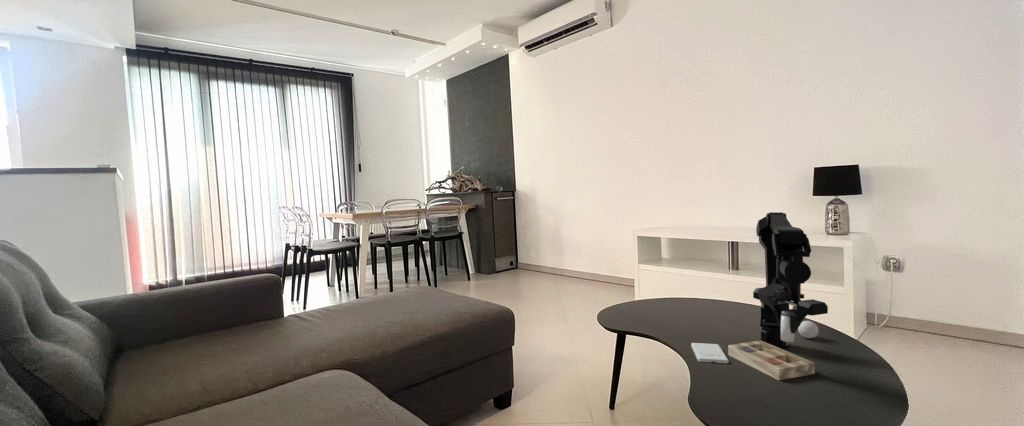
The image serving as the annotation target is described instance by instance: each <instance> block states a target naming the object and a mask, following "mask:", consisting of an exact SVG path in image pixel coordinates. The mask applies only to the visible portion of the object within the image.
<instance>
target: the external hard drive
mask: <svg viewBox="0 0 1024 426" xmlns="http://www.w3.org/2000/svg"><path fill="white" fill-rule="evenodd" d="M691 349H692V351H693V353H694V355H695V358H696V360H697V361H698V363H699V362H701V363H716V364H727V363H729V362H730V361H729V359H728V357H727V356H726V354H725V353H724V351H723V349H722V347H721V346H720V344H717V343H705V342H703V343H701V342H691Z"/></svg>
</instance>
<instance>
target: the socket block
mask: <svg viewBox="0 0 1024 426" xmlns="http://www.w3.org/2000/svg"><path fill="white" fill-rule="evenodd" d="M759 340H760V341H758V340H755V341H748V342H741V343H733V344H728V350H727V352H728V356H729V357H731V358H734V359H735V360H737V361H739V362H741V363H743V364H746V365H748V366H749V367H752V368H754V369H755V370H758V371H759V372H761V373H763V374H765V375H768V376H770V377H771V378H774V379H775V380H777V381H782V380H788V379H794V378H799V377H804V376H805V377H806V376H812V375H814V374H816V371H815V370H816V362H813V361H811V360H808V359H806V358H803V357H801V356H799V355H797V354H794V353H792V352H790V351H787V350H785V349H783V348H778V347H775V346H773V345H771V344H768V343H766V342H763V341H761V339H759Z"/></svg>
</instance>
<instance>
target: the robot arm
mask: <svg viewBox="0 0 1024 426" xmlns="http://www.w3.org/2000/svg"><path fill="white" fill-rule="evenodd" d="M755 231H756V233H755V234H756V237H758V243H759V244H760V246H762V248H763V250H764V265H765V286H764V287H757V288H755V289H754V290H753V292H752V294H753V295H752V296H753V297H752V298H753V299H756V300H758V301H760V306H761V307H759V308H758V313H757V323H758V326H759V327H761V330H760V339H759V340H757V341H760V340H761V341H763V342H766V343H768V344H771V345H773V346H775V347H778V348H780V349H783V348H789V347H790V346H791V345H790V344H789V343H787V342H786V341H782V340H781V339H780V338H781V310H787V311H788V313H789V314H790V329H791V333H794V334H795V333H796V332H797V331H798V328H799V326H800V324H801V323H802V322H803V321H805V318H806V317H807V316H817V315H825V314H828V313H829V312H828V311H829V307H828V304H827V303H826V302H825V301H821V300H816V299H813V298H811V299H805V294H804V293H803V294H802V292H801V291H802V289H801V287H802V284H805V283H806V282H807V281H808V280H809V279H810V278H811V276H812V270H811V267H810V266H809V265H808V264H807V263H806V262H804V258H810V257H811V253H812V249H811V244H810V240H809V237H808V235H807V233H805V232H804V230H803V229H802V228H800V227H795V226H793V225H792V224H791V222H790V221H789V220H788V218H787V214H786V213H785V212H778V211H777V212H776V211H775V212H773V211H772V212H768V213H767V212H766V215H765V216H763V217H762V218H761V219H759V220H758V221H757V223H756V229H755ZM802 299H804V300H802ZM790 305H791V306H792V308H790Z"/></svg>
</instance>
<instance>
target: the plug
mask: <svg viewBox="0 0 1024 426" xmlns="http://www.w3.org/2000/svg"><path fill="white" fill-rule="evenodd" d="M780 339H781V340H782V341H786V343H794V341H795V333H791V329H790V314H789V313H788V311H787V310H781V338H780Z"/></svg>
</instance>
